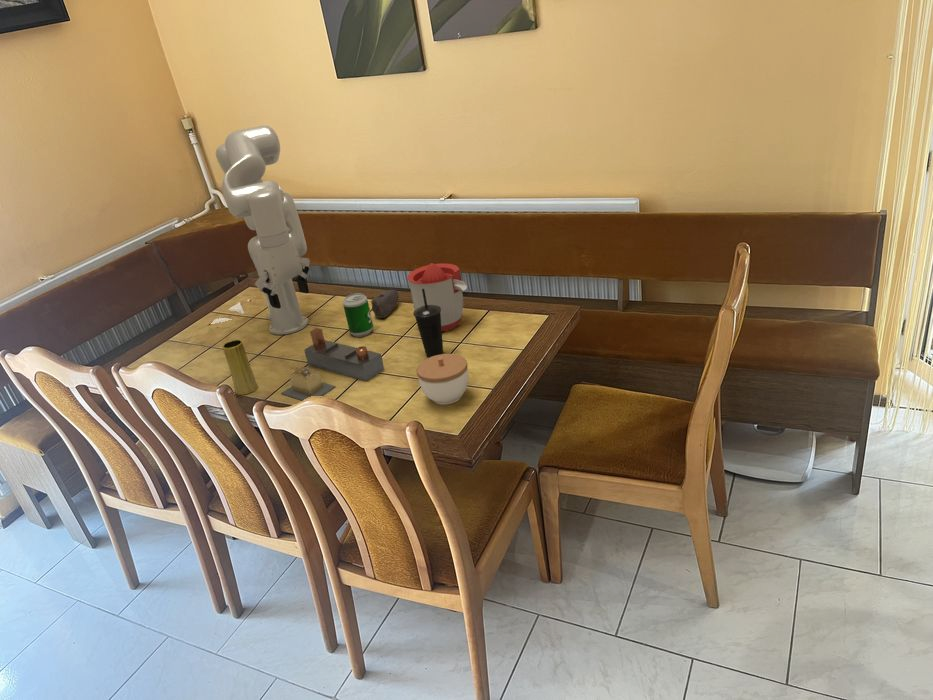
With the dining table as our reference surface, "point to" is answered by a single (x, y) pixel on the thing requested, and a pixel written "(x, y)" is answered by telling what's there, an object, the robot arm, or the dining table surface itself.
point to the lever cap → (306, 381)
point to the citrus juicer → (439, 291)
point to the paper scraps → (235, 308)
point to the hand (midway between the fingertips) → (290, 299)
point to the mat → (301, 396)
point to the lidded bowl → (443, 378)
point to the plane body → (343, 358)
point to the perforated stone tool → (384, 303)
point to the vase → (239, 367)
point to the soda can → (358, 314)
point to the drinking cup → (430, 327)
